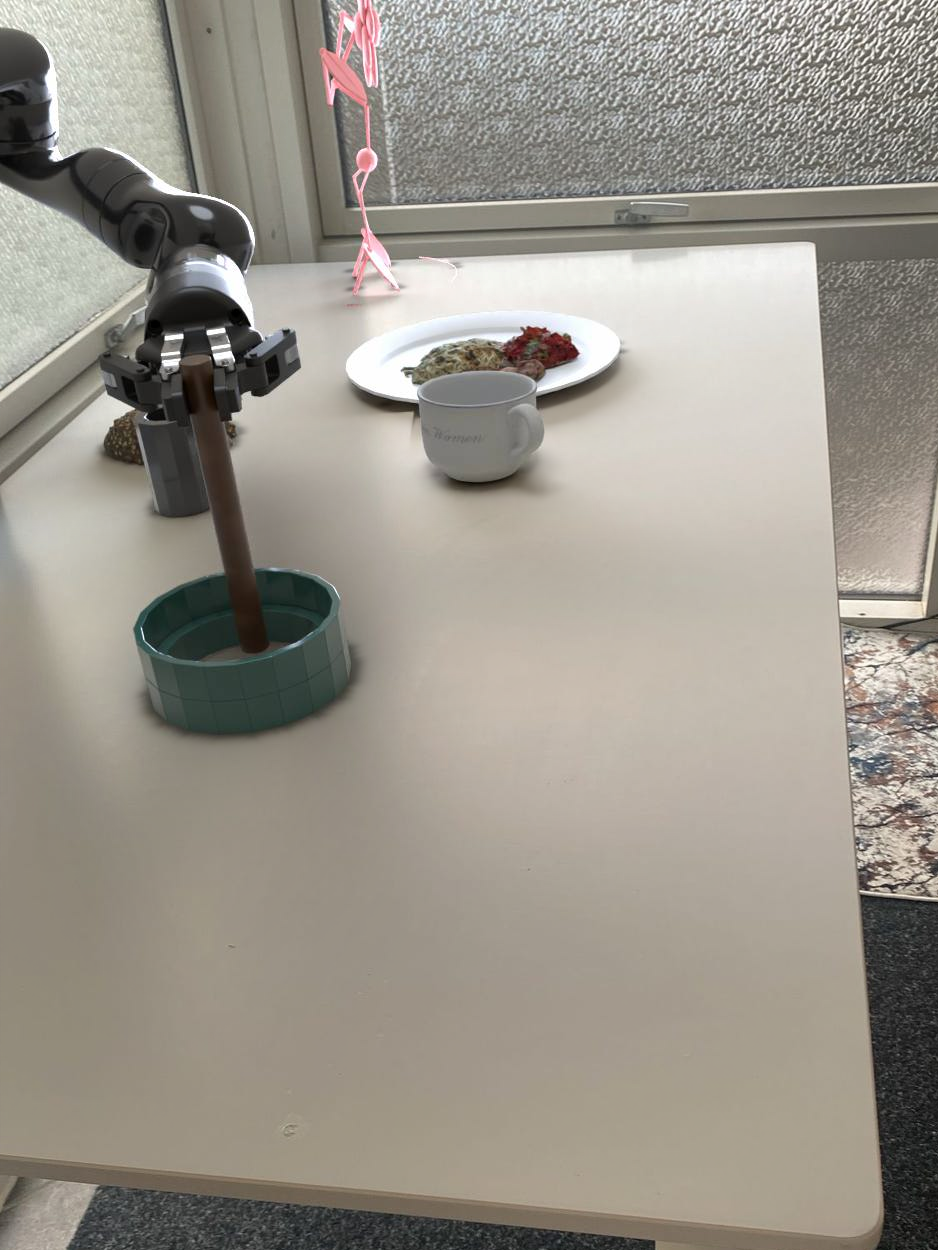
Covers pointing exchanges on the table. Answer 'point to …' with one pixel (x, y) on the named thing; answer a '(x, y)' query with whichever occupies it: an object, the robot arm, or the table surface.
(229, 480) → the stick
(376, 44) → the figurine
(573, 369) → the plated food
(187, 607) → the ring
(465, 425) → the teacup
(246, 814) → the table surface
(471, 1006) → the table surface
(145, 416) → the holder
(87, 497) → the table surface
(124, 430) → the bread roll
